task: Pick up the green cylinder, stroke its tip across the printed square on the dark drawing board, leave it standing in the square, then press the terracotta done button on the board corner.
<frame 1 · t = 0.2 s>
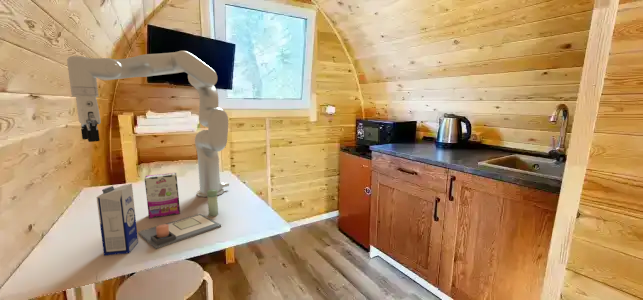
hand: (90, 140, 106), 31 cm above the table, tool pointing down, fingers open, 9 cm apart
candy bar box: (164, 214, 118), on the table
drawing board: (181, 229, 103), on the table
green cylinder: (213, 214, 117), on the table
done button: (162, 230, 94), point 4 cm above the table, slide at 0.0 cm
milk carton: (121, 249, 90), on the table
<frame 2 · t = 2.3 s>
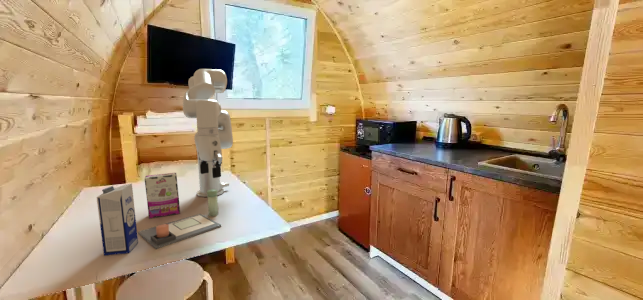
hand: (210, 175, 115), 16 cm above the table, tool pointing down, fingers open, 9 cm apart
nothing on the table moved.
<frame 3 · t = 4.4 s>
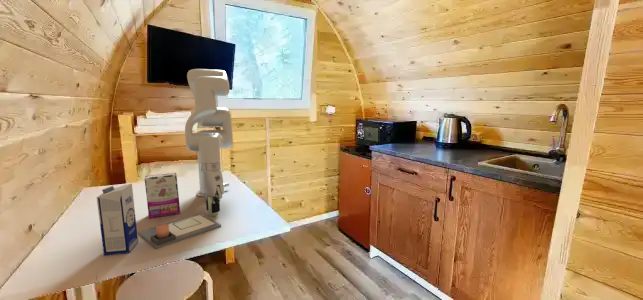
hand: (213, 210, 117), 2 cm above the table, tool pointing down, fingers closed on green cylinder, 3 cm apart
green cylinder: (213, 214, 117), on the table, touching gripper
everything else where it was.
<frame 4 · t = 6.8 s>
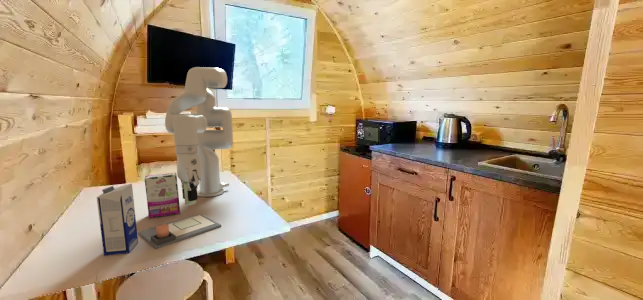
hand: (190, 198, 106), 10 cm above the table, tool pointing down, fingers closed on green cylinder, 3 cm apart
green cylinder: (190, 203, 106), point 8 cm above the table, touching gripper
everything else where it was.
when the fingers open (3 cm above the table, at t = 9.5 s): green cylinder stays where it is, resting on drawing board.
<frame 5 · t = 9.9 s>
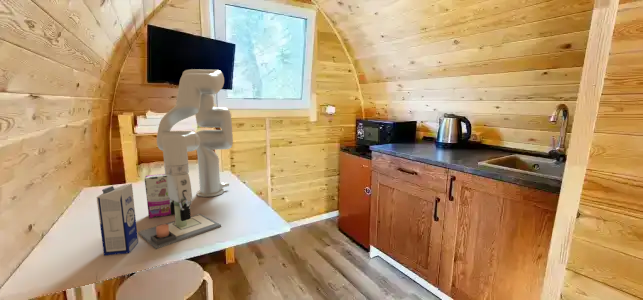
hand: (180, 216, 104), 4 cm above the table, tool pointing down, fingers open, 7 cm apart
green cylinder: (181, 225, 105), point 1 cm above the table, touching drawing board
everything else where it was.
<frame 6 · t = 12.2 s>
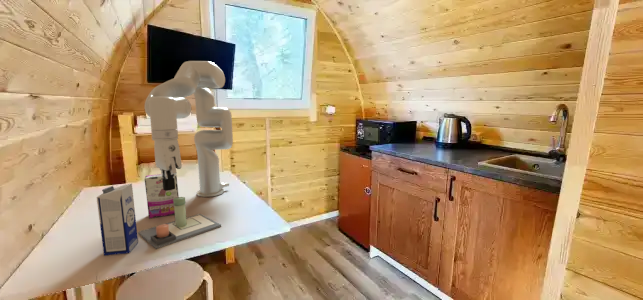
hand: (169, 189, 97), 16 cm above the table, tool pointing down, fingers closed
nothing on the table moved.
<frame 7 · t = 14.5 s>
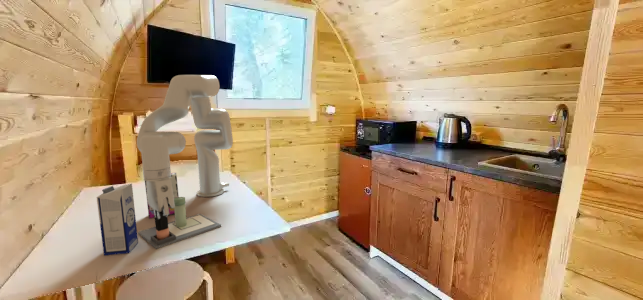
hand: (162, 228, 94), 4 cm above the table, tool pointing down, fingers closed
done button: (162, 233, 94), point 3 cm above the table, slide at -0.9 cm, touching gripper
everything else where it was.
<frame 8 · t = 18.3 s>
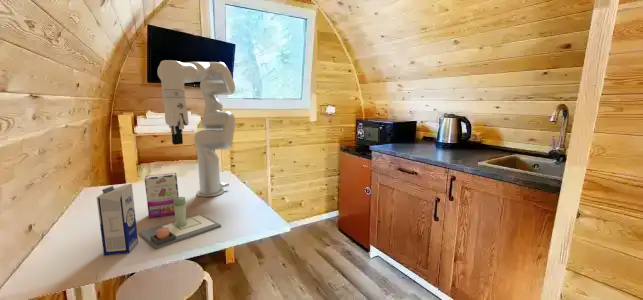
hand: (177, 144, 111), 29 cm above the table, tool pointing down, fingers closed
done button: (162, 234, 94), point 2 cm above the table, slide at -1.2 cm
everything else where it was.
at the end: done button slide at -1.2 cm; green cylinder inside the target area on the drawing board (2.0 cm from its centre), point 0.9 cm above the drawing board's base; green cylinder tilted 0° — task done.
